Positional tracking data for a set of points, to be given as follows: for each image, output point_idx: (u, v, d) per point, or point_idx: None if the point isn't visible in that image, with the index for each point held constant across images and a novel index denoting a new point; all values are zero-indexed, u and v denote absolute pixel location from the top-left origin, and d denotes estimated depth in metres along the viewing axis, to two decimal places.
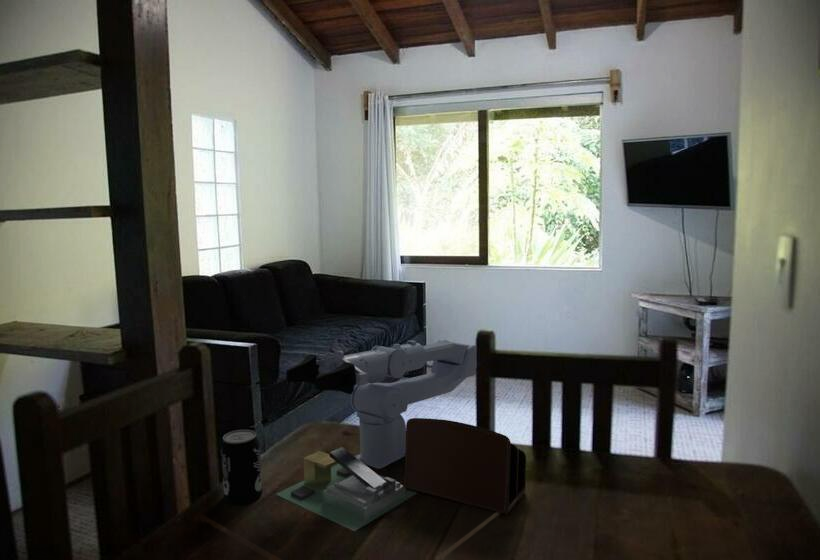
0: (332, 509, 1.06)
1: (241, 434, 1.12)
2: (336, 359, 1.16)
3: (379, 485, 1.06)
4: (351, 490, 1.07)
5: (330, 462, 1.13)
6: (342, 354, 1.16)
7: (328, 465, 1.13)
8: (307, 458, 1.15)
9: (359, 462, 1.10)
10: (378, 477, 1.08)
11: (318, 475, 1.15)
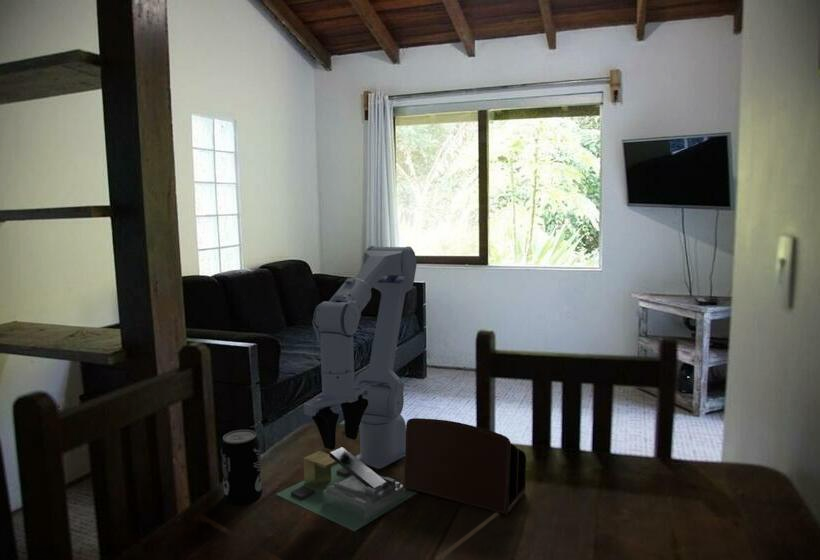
0: (332, 509, 1.06)
1: (241, 434, 1.12)
2: None
3: (379, 485, 1.06)
4: (351, 490, 1.07)
5: (330, 462, 1.13)
6: None
7: (328, 465, 1.13)
8: (307, 458, 1.15)
9: (359, 462, 1.10)
10: (378, 477, 1.08)
11: (318, 475, 1.15)
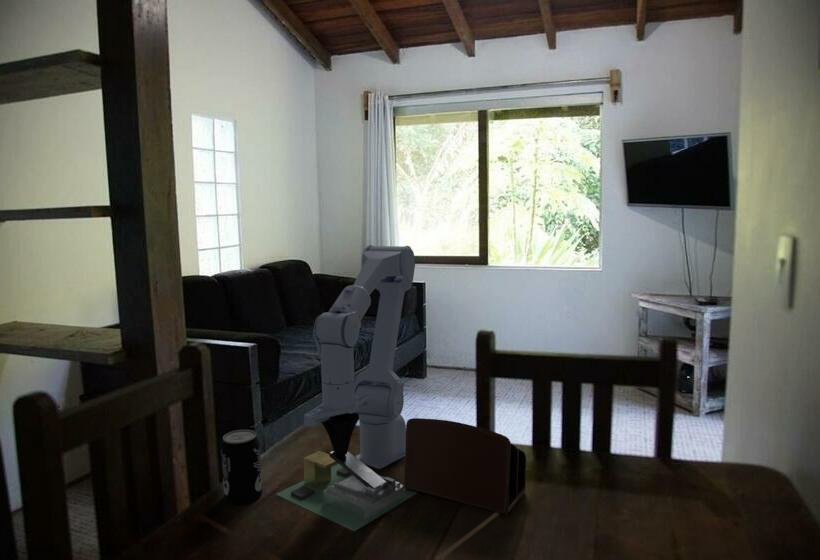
0: (332, 509, 1.06)
1: (241, 434, 1.12)
2: None
3: (379, 485, 1.06)
4: (351, 490, 1.07)
5: (330, 462, 1.13)
6: None
7: (328, 465, 1.13)
8: (307, 458, 1.15)
9: (359, 462, 1.10)
10: (378, 477, 1.08)
11: (318, 475, 1.15)
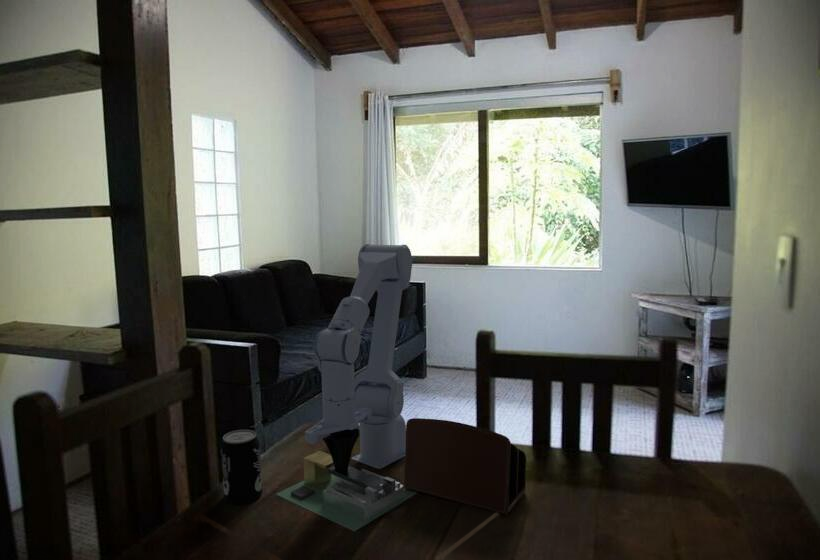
0: (332, 509, 1.06)
1: (241, 434, 1.12)
2: None
3: (378, 485, 1.06)
4: (351, 490, 1.07)
5: (330, 462, 1.13)
6: None
7: (328, 465, 1.13)
8: (307, 458, 1.15)
9: (357, 471, 1.11)
10: (377, 479, 1.08)
11: (318, 475, 1.15)
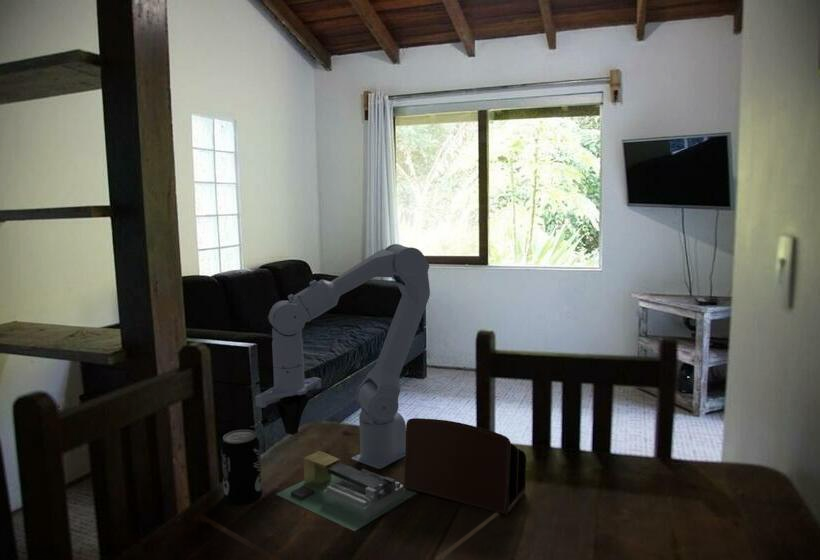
0: (332, 509, 1.06)
1: (242, 434, 1.12)
2: None
3: (378, 485, 1.06)
4: (351, 490, 1.07)
5: (330, 462, 1.13)
6: None
7: (328, 465, 1.13)
8: (307, 458, 1.15)
9: (357, 471, 1.11)
10: (377, 479, 1.08)
11: (318, 475, 1.15)
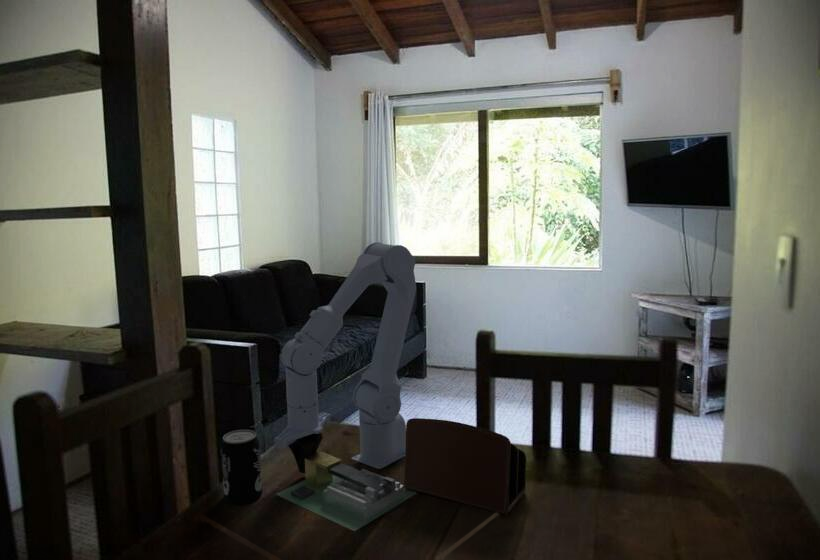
0: (332, 509, 1.06)
1: (241, 434, 1.12)
2: None
3: (378, 485, 1.06)
4: (351, 490, 1.07)
5: (331, 463, 1.13)
6: None
7: (329, 466, 1.12)
8: (308, 458, 1.15)
9: (357, 471, 1.11)
10: (377, 479, 1.08)
11: (320, 475, 1.14)
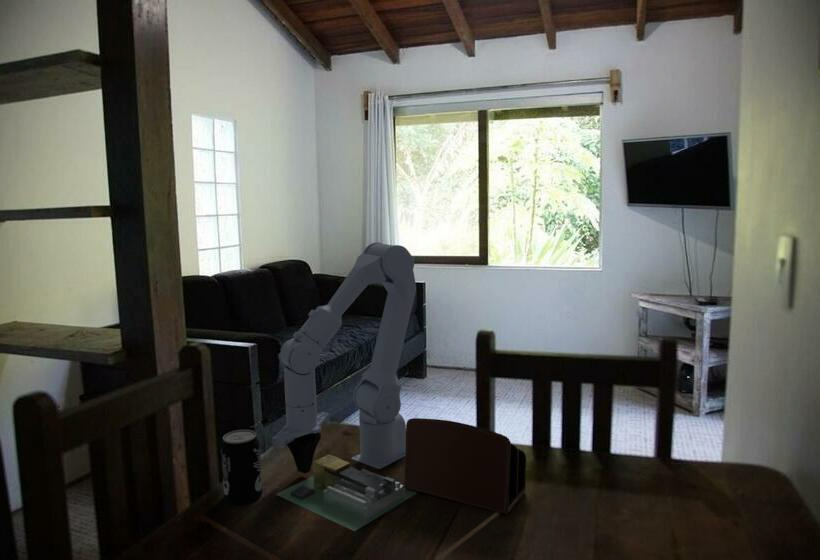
0: (332, 509, 1.06)
1: (241, 434, 1.12)
2: None
3: (378, 485, 1.06)
4: (351, 490, 1.07)
5: (340, 466, 1.12)
6: None
7: (338, 469, 1.11)
8: (317, 461, 1.14)
9: (357, 471, 1.11)
10: (377, 479, 1.08)
11: (328, 479, 1.13)
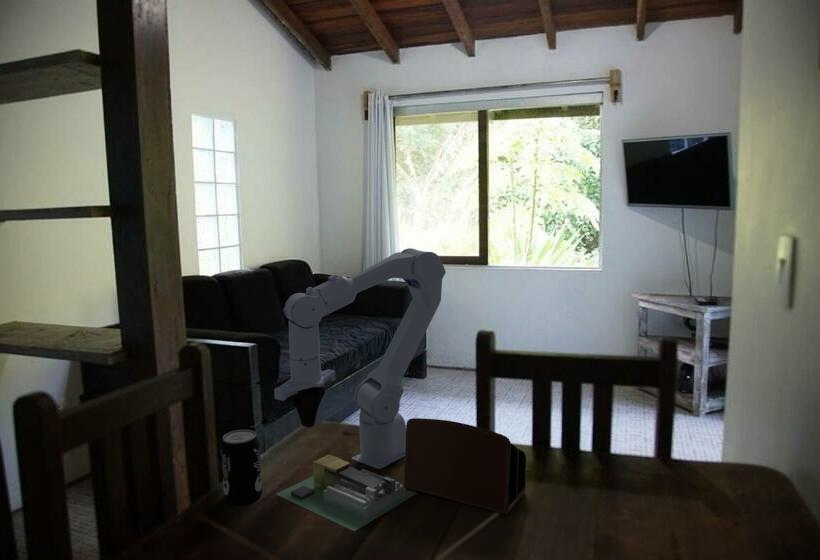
0: (332, 509, 1.06)
1: (241, 434, 1.12)
2: None
3: (378, 485, 1.06)
4: (351, 490, 1.07)
5: (340, 466, 1.12)
6: None
7: (338, 469, 1.11)
8: (317, 461, 1.14)
9: (357, 471, 1.11)
10: (377, 479, 1.08)
11: (328, 479, 1.13)
